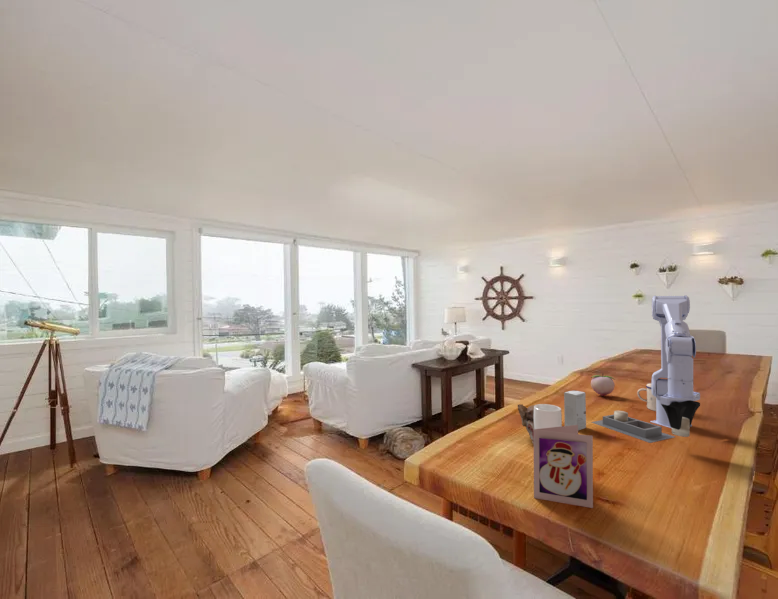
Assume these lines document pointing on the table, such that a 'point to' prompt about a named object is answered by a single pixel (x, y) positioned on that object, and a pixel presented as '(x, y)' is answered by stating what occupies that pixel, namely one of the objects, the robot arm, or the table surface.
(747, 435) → the table surface
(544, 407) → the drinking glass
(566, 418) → the skincare box
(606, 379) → the decorative fruit
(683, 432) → the cream cylinder
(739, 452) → the table surface
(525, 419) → the seed pod
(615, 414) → the beige round piece
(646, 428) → the gray compartment tray
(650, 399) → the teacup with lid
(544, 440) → the greeting card
